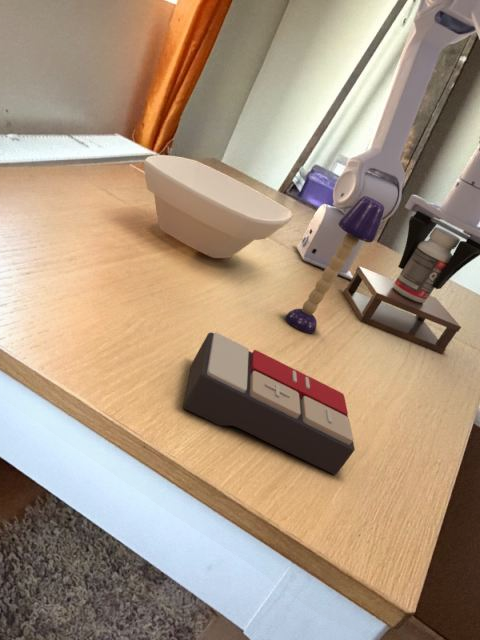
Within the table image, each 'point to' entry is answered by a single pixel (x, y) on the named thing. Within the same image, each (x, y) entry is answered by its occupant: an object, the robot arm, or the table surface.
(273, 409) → the calculator
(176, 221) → the bowl
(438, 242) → the pill bottle
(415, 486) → the table surface
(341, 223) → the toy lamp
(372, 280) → the rack
